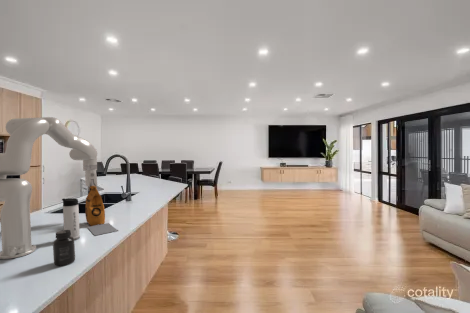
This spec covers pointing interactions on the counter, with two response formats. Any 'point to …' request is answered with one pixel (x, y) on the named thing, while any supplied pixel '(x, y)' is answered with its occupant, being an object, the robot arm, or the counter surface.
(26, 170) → the robot arm
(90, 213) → the coffee package
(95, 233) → the mat
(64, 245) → the supplement bottle
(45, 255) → the counter surface
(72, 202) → the travel mug
